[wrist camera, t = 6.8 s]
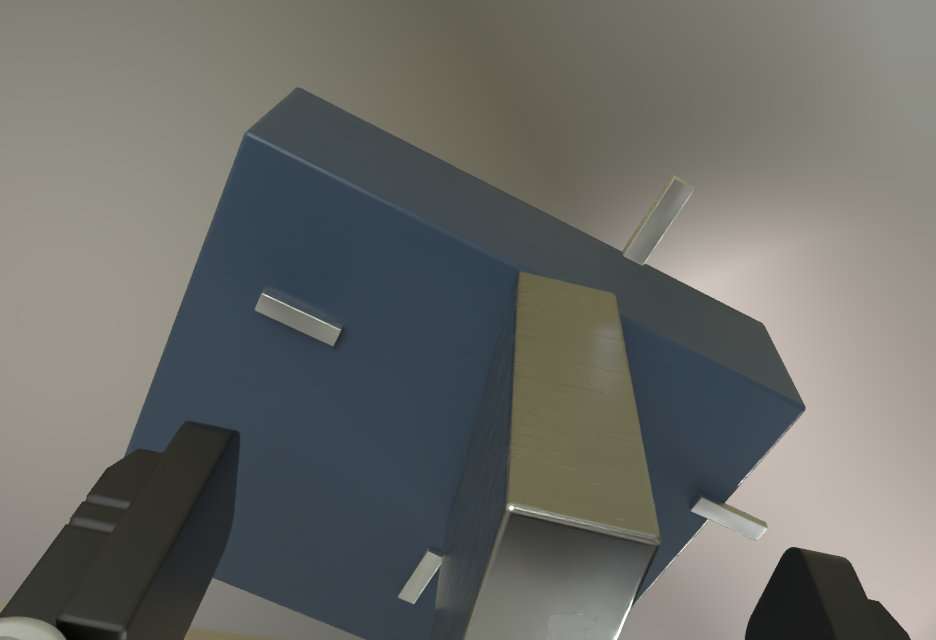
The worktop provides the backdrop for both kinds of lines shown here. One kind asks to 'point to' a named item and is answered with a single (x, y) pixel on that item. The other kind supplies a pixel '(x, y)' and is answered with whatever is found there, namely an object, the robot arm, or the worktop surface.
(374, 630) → the dial base
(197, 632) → the worktop surface
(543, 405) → the silver and red block
